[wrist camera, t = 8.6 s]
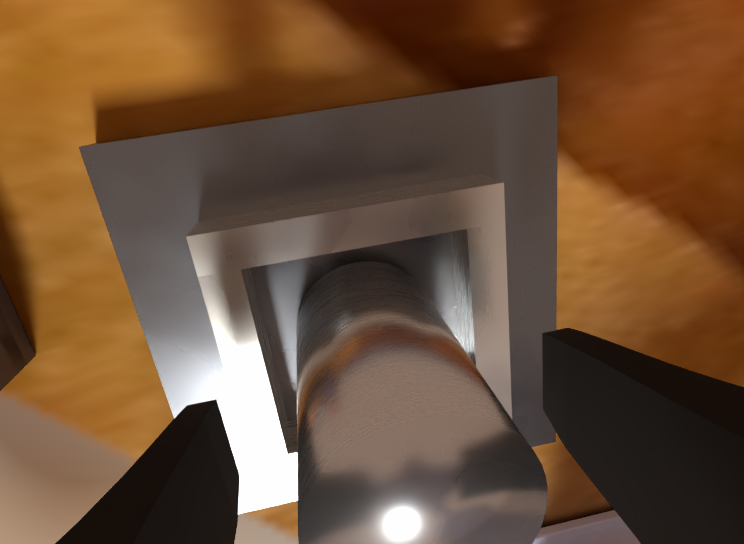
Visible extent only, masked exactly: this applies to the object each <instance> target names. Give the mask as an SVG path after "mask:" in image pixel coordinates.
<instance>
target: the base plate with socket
mask: <svg viewBox="0 0 744 544" xmlns="http://www.w3.org/2000/svg"><path fill="white" fill-rule="evenodd" d="M557 127H558V75H557V76H545V77H536V78H529V79H523V80H516V81H509V82H503V83H496V84H489V85H482V86H476V87H469V88H462V89H456V90H449V91H442V92H436V93H429V94H422V95H415V96H409V97H402V98H395V99H389V100H382V101H375V102H369V103H362V104H355V105H348V106H342V107H335V108H328V109H322V110H315V111H308V112H301V113H295V114H288V115H281V116H275V117H268V118H261V119H255V120H248V121H241V122H234V123H228V124H221V125H214V126H208V127H201V128H194V129H187V130H181V131H174V132H167V133H161V134H154V135H147V136H141V137H134V138H127V139H120V140H114V141H107V142H100V143H94V144H90V145H85V146H81V147H79V149H80V152H81V155H82V158H83V161H84V164H85V166H86V169H87V172H88V175H89V178H90V181H91V184H92V186H93V189H94V192H95V195H96V198H97V201H98V203H99V206H100V209H101V212H102V215H103V218H104V220H105V223H106V226H107V229H108V232H109V235H110V238H111V240H112V243H113V246H114V249H115V252H116V255H117V257H118V260H119V263H120V266H121V269H122V272H123V274H124V277H125V280H126V283H127V286H128V289H129V291H130V294H131V297H132V300H133V303H134V306H135V309H136V311H137V314H138V317H139V320H140V323H141V326H142V328H143V331H144V334H145V337H146V340H147V343H148V345H149V348H150V351H151V354H152V357H153V360H154V363H155V365H156V368H157V371H158V374H159V377H160V380H161V382H162V385H163V388H164V391H165V394H166V397H167V399H168V402H169V405H170V408H171V411H172V414H173V416H174V419H175V417H176V416H177V415H178V414H179V413H180V412H181V411H182V410H183V409H184V408H185V407H186V406H187V405H191V404H196V403H201V402H206V401H211V400H216V399H217V403H218V406H219V409H220V413H221V416H222V419H223V422H224V426H225V429H226V432H227V435H228V439H229V442H230V445H231V449H232V452H233V455H234V458H235V462H236V465H237V468H238V472H239V475H240V479H239V504H238V514H241V513H245V512H249V511H254V510H258V509H262V508H267V507H271V506H276V505H280V504H284V503H289V502H293V501H297V500H298V464H297V360H296V323H297V315H298V311H299V308H300V305H301V303H302V301H303V299H304V297H305V295H306V294H307V292H308V291H309V290H310V288H311V287H312V286H313V285H314V284H315V283H316V282H317V281H318V280H319V279H320V278H322V277H323V276H324V275H325V274H327V273H329V272H330V271H332V270H334V269H336V268H338V267H341V266H343V265H346V264H350V263H355V262H361V261H375V262H382V263H387V264H390V265H393V266H396V267H398V268H400V269H401V270H403V271H405V272H406V273H408V274H409V275H410V276H412V277H413V278H414V279H415V280H416V281H417V282H418V284H419V285H420V286H421V287H422V289H423V290H424V292H425V293H426V295H427V296H428V298H429V299H430V301H431V302H432V303H433V305H434V306H435V308H436V309H437V311H438V312H439V314H440V315H441V317H442V318H443V320H444V321H445V322H446V324H447V325H448V327H449V328H450V330H451V331H452V333H453V334H454V336H455V337H456V338H457V340H458V341H459V343H460V344H461V346H462V347H463V349H464V350H465V352H466V353H467V355H468V356H469V357H470V359H471V360H472V362H473V363H474V365H475V366H476V368H477V369H478V371H479V372H480V373H481V375H482V376H483V378H484V379H485V381H486V382H487V384H488V385H489V387H490V388H491V390H492V391H493V392H494V394H495V395H496V397H497V398H498V400H499V401H500V403H501V404H502V406H503V407H504V409H505V410H506V411H507V413H508V414H509V416H510V417H511V419H512V420H513V422H514V423H515V425H516V426H517V427H518V429H519V430H520V432H521V433H522V435H523V436H524V438H525V439H526V441H527V442H528V444H529V445H530V446H531V447H534V446H538V445H543V444H547V443H551V442H555V437H556V431H555V429H554V427H553V426H552V424H551V422H550V420H549V419H548V417H547V415H546V413H545V412H544V410H543V363H542V333H545V332H550V331H555V330H556V282H557Z"/></svg>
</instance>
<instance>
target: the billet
mask: <svg viewBox="0 0 744 544" xmlns="http://www.w3.org/2000/svg"><path fill="white" fill-rule="evenodd" d="M296 360H297V464H298V538H299V544H532V543H533V541H534V540H535V538H536V536H537V534H538V532H539V530H540V528H541V526H542V523H543V520H544V516H545V513H546V507H547V501H548V487H547V481H546V476H545V473H544V470H543V467H542V464H541V463H540V461H539V459H538V457H537V456H536V454H535V452H534V451H533V449H532V448H531V446H530V445H529V444H528V442H527V441H526V439H525V438H524V436H523V435H522V433H521V432H520V430H519V429H518V427H517V426H516V425H515V423H514V422H513V420H512V419H511V417H510V416H509V414H508V413H507V411H506V410H505V409H504V407H503V406H502V404H501V403H500V401H499V400H498V398H497V397H496V395H495V394H494V392H493V391H492V390H491V388H490V387H489V385H488V384H487V382H486V381H485V379H484V378H483V376H482V375H481V373H480V372H479V371H478V369H477V368H476V366H475V365H474V363H473V362H472V360H471V359H470V357H469V356H468V355H467V353H466V352H465V350H464V349H463V347H462V346H461V344H460V343H459V341H458V340H457V338H456V337H455V336H454V334H453V333H452V331H451V330H450V328H449V327H448V325H447V324H446V322H445V321H444V320H443V318H442V317H441V315H440V314H439V312H438V311H437V309H436V308H435V306H434V305H433V303H432V302H431V301H430V299H429V298H428V296H427V295H426V293H425V292H424V290H423V289H422V287H421V286H420V285H419V284H418V282H417V281H416V280H415V279H414V278H413V277H412V276H410V275H409V274H408V273H406V272H405V271H403V270H401V269H400V268H398V267H396V266H393V265H390V264H387V263H382V262H375V261H361V262H355V263H350V264H346V265H343V266H341V267H338V268H336V269H334V270H332V271H330V272H329V273H327V274H325V275H324V276H323V277H322V278H320V279H319V280H318V281H317V282H316V283H315V284H314V285H313V286H312V287H311V288H310V290H309V291H308V292H307V294H306V295H305V297H304V299H303V301H302V303H301V305H300V308H299V311H298V315H297V323H296Z"/></svg>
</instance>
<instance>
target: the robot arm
mask: <svg viewBox="0 0 744 544" xmlns="http://www.w3.org/2000/svg"><path fill="white" fill-rule="evenodd" d="M542 363H543V410H544V412H545V413H546V415H547V417H548V419H549V420H550V422H551V424H552V426H553V427H554V429H555V431H556V432H557V434H558V436H559V437H560V439H561V441H562V442H563V444H564V446H565V447H566V449H567V450H568V451H569V453H570V454H571V455H572V456H573V458H574V459H575V460H576V462H577V463H578V464H579V466H580V467H581V468H582V469H583V471H584V472H585V473H586V475H587V476H588V477H589V478H590V480H591V481H592V482H593V483H594V485H595V486H596V487H597V489H598V490H599V491H600V492H601V494H602V495H603V496H604V497H605V499H606V500H607V501H608V502H609V504H610V505H611V506H612V508H613V509H614V510H612V511H608V512H604V513H600V514H596V515H592V516H588V517H584V518H580V519H576V520H572V521H567V522H563V523H559V524H555V525H551V526H547V527H543V528H540V530H539V532H538V534H537V536H536V538H535V540H534V541H533V543H532V544H744V387H741V386H737V385H734V384H730V383H727V382H724V381H721V380H718V379H714V378H711V377H708V376H705V375H702V374H699V373H696V372H693V371H689V370H687V369H684V368H681V367H678V366H675V365H672V364H669V363H666V362H664V361H661V360H658V359H655V358H652V357H650V356H647V355H644V354H642V353H639V352H636V351H633V350H631V349H628V348H625V347H623V346H620V345H617V344H615V343H612V342H609V341H607V340H604V339H601V338H598V337H596V336H593V335H590V334H587V333H584V332H581V331H578V330H574V329H570V328H565V329H560V330H555V331H550V332H545V333H542ZM239 479H240V475H239V472H238V468H237V465H236V462H235V458H234V455H233V452H232V449H231V445H230V442H229V439H228V435H227V432H226V429H225V426H224V422H223V419H222V416H221V413H220V409H219V406H218V403H217V399H216V400H211V401H206V402H201V403H196V404H191V405H187V406H186V407H185V408H184V409H183V410H182V411H181V412H180V413H179V414H178V415H177V416H176V417H175V419H174V420H173V421H172V422H171V423H170V424H169V425H168V426H167V428H166V429H165V430H164V431H163V432H162V433H161V434H160V435H159V437H158V438H157V439H156V440H155V441H154V442H153V443H152V445H151V446H150V447H149V448H148V449H147V450H146V451H145V452H144V453H143V455H142V456H141V457H140V458H139V459H138V460H137V461H136V462H135V463H134V465H133V466H132V467H131V468H130V469H129V470H128V471H127V472H126V474H125V475H124V476H123V477H122V478H121V479H120V480H119V481H118V482H117V483H116V484H115V485H114V486H113V487H112V488H111V489H110V490H109V491H108V492H107V493H106V494H105V495H104V496H103V497H102V498H101V499H100V500H99V501H98V503H96V504H95V505H94V506H93V508H92V509H91V510H90V511H89V512H88V513H87V514H86V515H85V516H84V517H83V518H82V519H81V520H80V521H79V522H78V523H77V524H76V525H75V526H74V527H72V528H71V529H70V530H69V531H68V532H67V533H66V534H65V535H64V536H63V537H62V538H61V539H60V540H59V541H58V542H56V543H55V544H234V540H235V534H236V528H237V521H238V504H239Z"/></svg>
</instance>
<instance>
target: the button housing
mask: <svg viewBox="0 0 744 544" xmlns="http://www.w3.org/2000/svg"><path fill="white" fill-rule="evenodd" d="M35 356H36V355H35V353H34V350H33V348H32V346H31V344H30V342H29V339H28V337H27V335H26V333H25V331H24V328H23V326H22V324H21V322H20V320H19V317H18V315H17V313H16V311H15V309H14V306H13V304H12V302H11V300H10V298H9V296H8V293H7V291H6V289H5V287H4V285H3V282H2V280H1V278H0V391H1V390H2V389H3V388H4V387H5V386H6V385H7V384H8V383H9V382H10V381H11V380H12V379H13V378H14V377H15V376H16V375H17V374H18V373H19V372H20V371H21V370H22V369H23V368H24V367H25V366H26V365H27V364H28V363H29V362H30V361H31V360H32V359H33V358H34V357H35Z"/></svg>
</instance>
